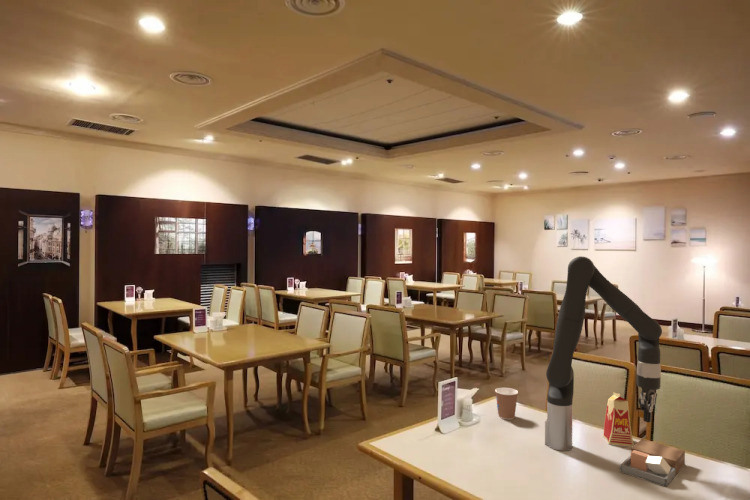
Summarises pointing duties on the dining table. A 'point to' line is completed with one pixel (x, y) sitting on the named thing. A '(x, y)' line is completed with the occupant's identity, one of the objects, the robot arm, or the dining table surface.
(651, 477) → the tray
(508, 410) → the coffee cup
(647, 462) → the tile cream
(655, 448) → the bronze square platform
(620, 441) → the milk carton
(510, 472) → the dining table surface
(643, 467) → the salmon square block
